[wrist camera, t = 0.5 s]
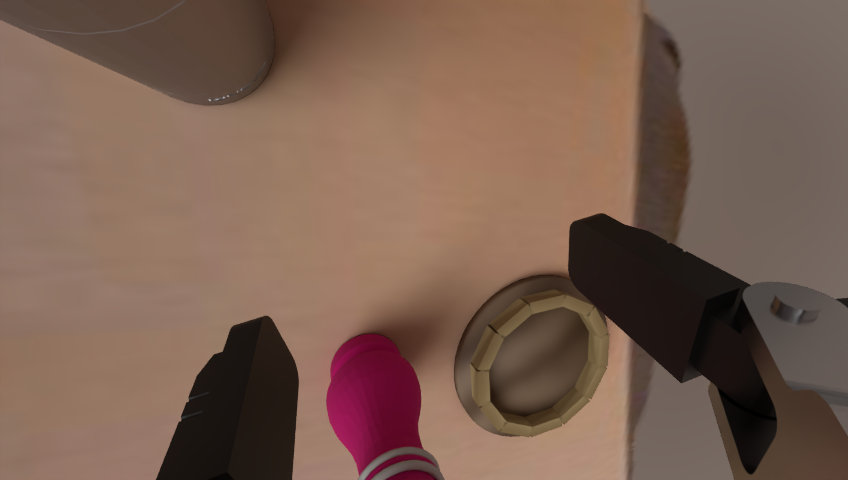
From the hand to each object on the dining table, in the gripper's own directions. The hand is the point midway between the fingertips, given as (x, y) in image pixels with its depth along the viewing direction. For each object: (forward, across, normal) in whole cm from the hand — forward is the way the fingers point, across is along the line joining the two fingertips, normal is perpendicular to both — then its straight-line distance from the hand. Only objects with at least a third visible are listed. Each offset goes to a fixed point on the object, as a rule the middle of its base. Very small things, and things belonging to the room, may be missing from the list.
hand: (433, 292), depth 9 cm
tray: (+16, -11, +25) cm, 32 cm away
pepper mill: (+16, +5, +18) cm, 25 cm away
